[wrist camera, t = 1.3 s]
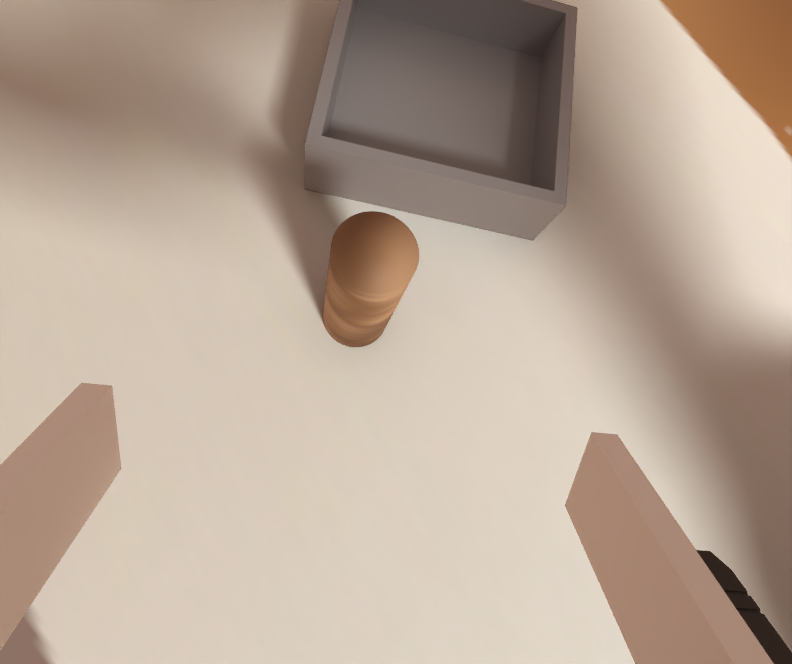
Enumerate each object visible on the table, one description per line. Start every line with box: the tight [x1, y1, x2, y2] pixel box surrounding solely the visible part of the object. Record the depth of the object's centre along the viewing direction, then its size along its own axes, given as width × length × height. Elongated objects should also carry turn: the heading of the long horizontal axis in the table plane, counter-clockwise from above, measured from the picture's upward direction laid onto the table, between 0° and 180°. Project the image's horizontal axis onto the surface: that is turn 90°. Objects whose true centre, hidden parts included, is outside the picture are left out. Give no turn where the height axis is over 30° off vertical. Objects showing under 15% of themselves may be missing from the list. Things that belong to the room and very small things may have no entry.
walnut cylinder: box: [323, 211, 419, 347], centre depth 35 cm, size 5×5×12 cm
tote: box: [305, 0, 577, 240], centre depth 44 cm, size 20×20×6 cm
